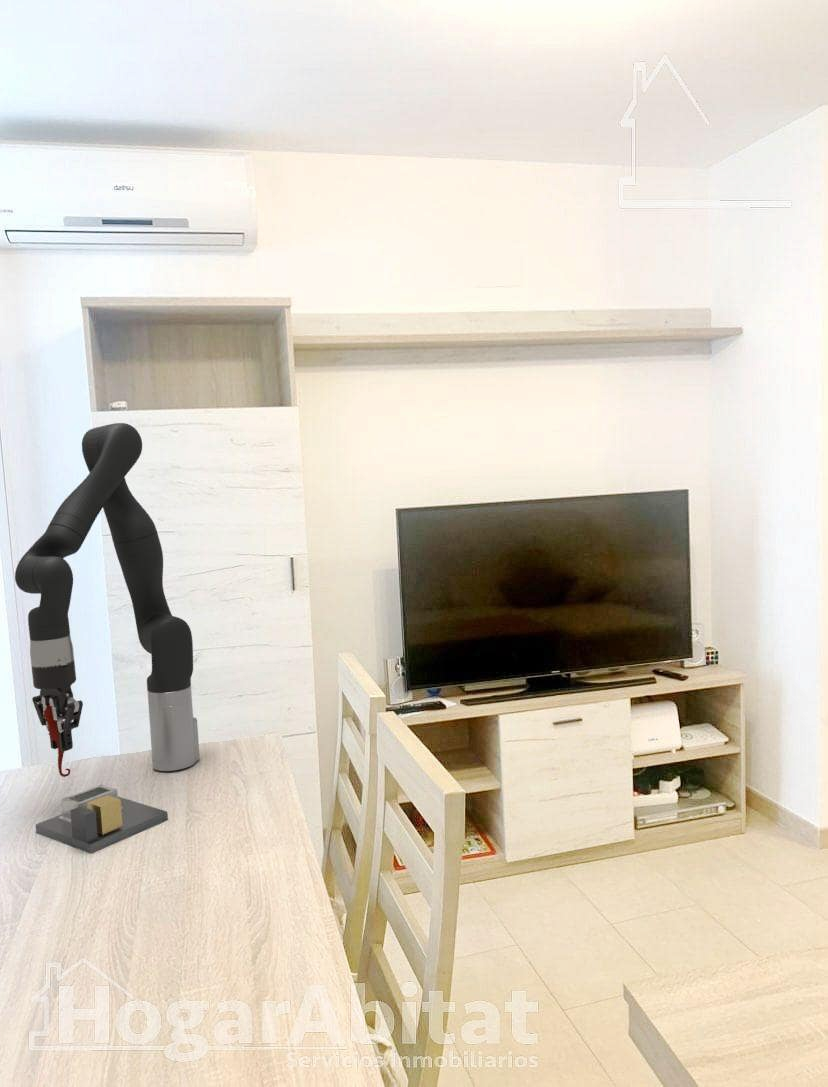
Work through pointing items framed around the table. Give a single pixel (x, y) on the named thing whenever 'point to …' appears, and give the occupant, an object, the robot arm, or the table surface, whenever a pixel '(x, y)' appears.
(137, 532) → the robot arm
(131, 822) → the press frame
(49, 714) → the toy
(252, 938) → the table surface
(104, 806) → the slider
